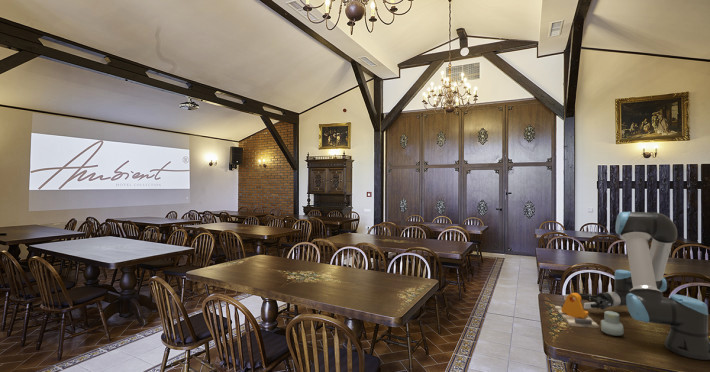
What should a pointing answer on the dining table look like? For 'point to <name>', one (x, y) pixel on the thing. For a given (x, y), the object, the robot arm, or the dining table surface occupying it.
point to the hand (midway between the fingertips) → (574, 301)
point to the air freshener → (611, 324)
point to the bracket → (574, 306)
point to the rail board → (572, 320)
